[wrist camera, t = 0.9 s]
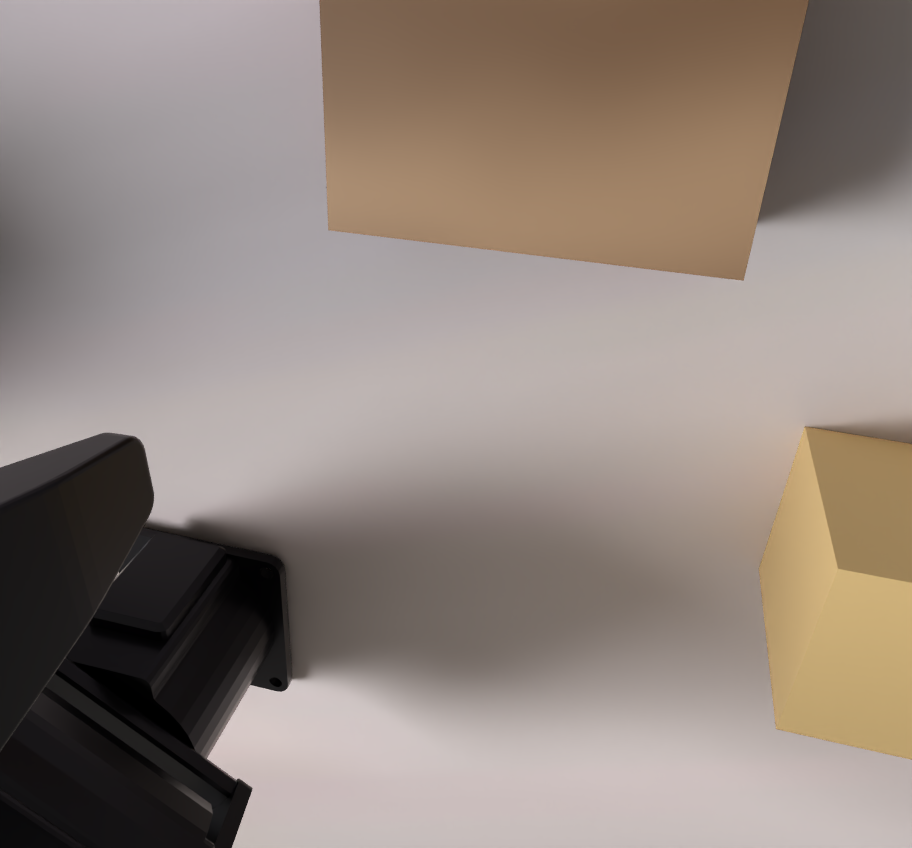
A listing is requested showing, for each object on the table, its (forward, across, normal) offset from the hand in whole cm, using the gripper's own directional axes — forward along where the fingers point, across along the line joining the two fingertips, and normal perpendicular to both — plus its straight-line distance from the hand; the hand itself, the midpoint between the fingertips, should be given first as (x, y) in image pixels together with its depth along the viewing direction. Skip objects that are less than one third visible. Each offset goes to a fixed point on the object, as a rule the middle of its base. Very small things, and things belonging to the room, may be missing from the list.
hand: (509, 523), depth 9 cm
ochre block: (+14, -8, +8) cm, 18 cm away
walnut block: (+14, +1, -4) cm, 14 cm away
